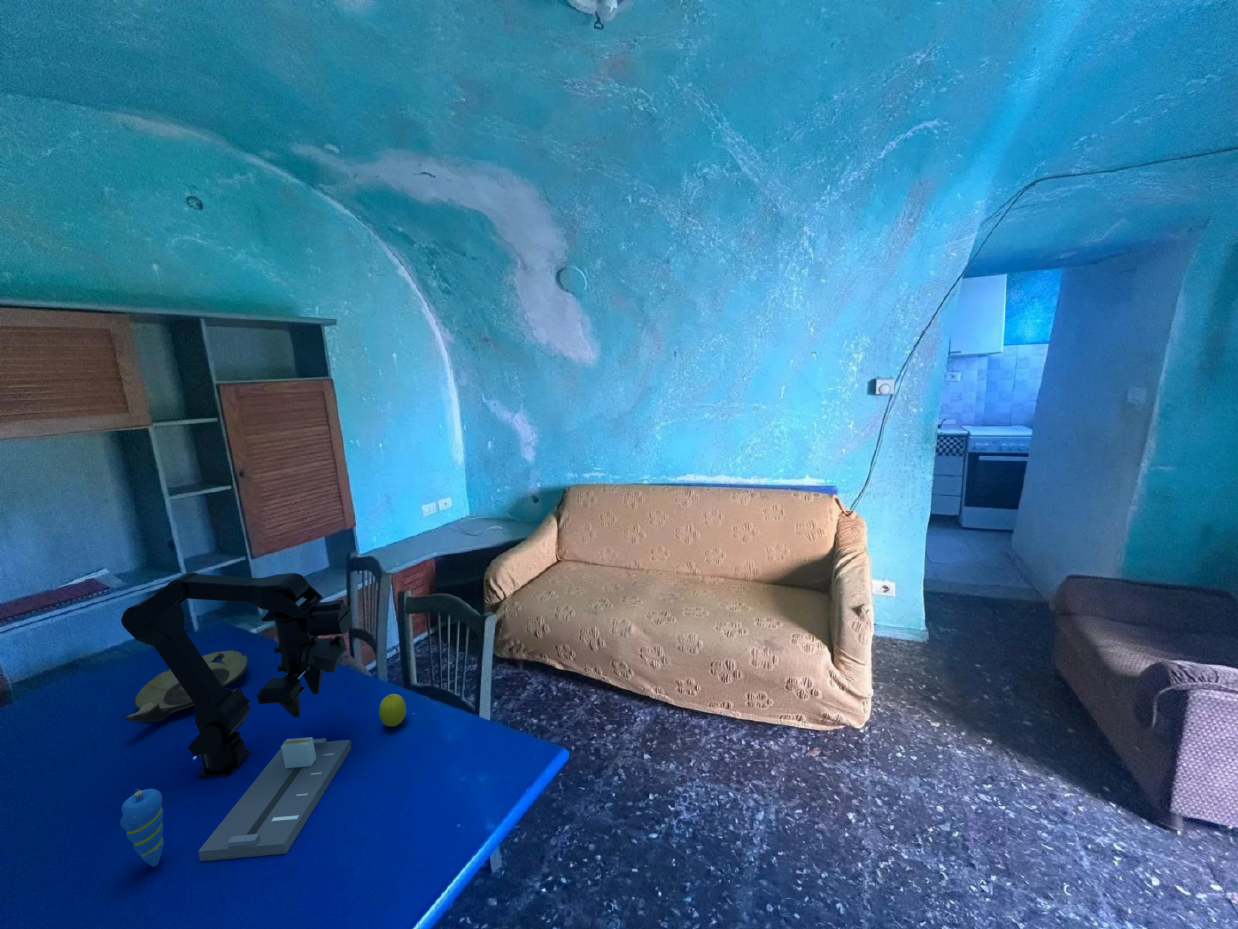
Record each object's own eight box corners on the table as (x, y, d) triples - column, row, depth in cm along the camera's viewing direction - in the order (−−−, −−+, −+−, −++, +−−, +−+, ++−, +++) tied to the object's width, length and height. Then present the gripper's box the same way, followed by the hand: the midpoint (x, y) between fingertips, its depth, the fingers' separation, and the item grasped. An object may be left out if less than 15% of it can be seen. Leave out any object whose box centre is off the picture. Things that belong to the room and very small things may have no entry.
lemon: (398, 736, 112) (393, 704, 110) (376, 733, 113) (371, 701, 111) (413, 718, 117) (408, 688, 115) (392, 716, 118) (387, 686, 116)
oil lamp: (274, 671, 139) (269, 646, 137) (148, 751, 110) (140, 721, 109) (214, 661, 145) (208, 637, 143) (80, 735, 116) (72, 706, 115)
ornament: (153, 852, 86) (133, 777, 83) (185, 849, 87) (166, 774, 84) (127, 882, 81) (104, 804, 78) (160, 879, 82) (139, 800, 79)
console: (200, 861, 84) (196, 846, 84) (284, 753, 108) (282, 741, 107) (286, 853, 85) (283, 838, 84) (351, 748, 109) (349, 735, 108)
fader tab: (285, 768, 101) (280, 745, 100) (291, 760, 103) (286, 738, 102) (311, 766, 101) (306, 743, 100) (316, 758, 103) (312, 736, 102)
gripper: (310, 660, 93) (323, 734, 96) (356, 612, 111) (365, 675, 114) (248, 664, 93) (263, 738, 96) (304, 615, 111) (315, 678, 114)
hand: (306, 704), depth 105 cm, fingers open, 7 cm apart
